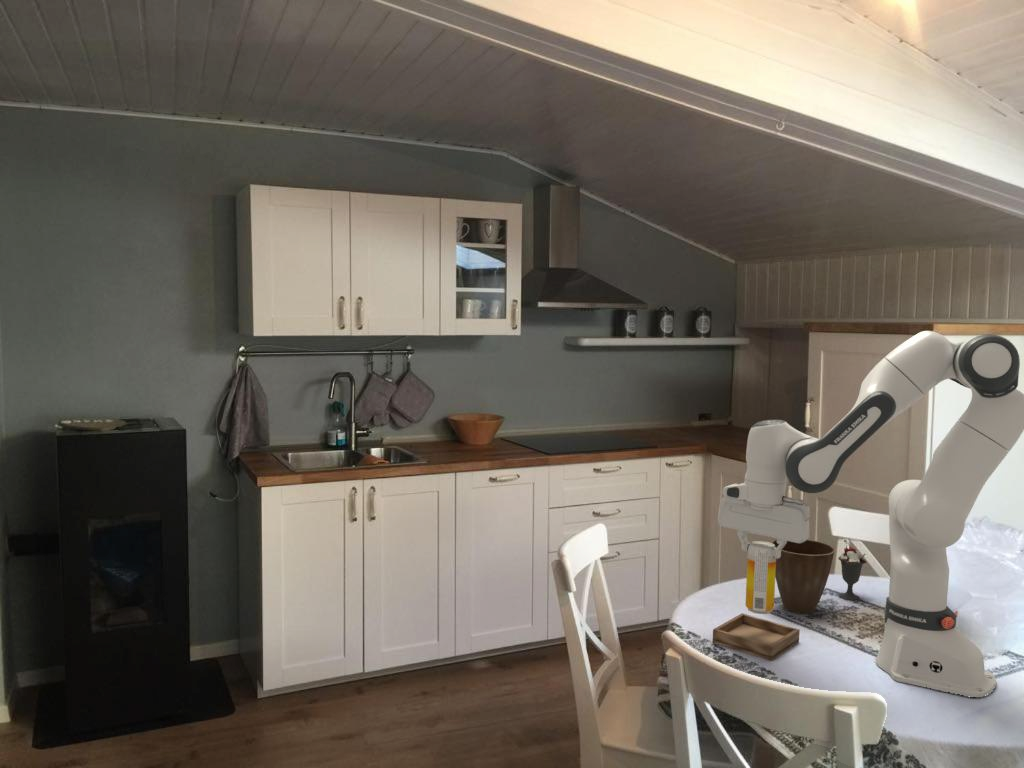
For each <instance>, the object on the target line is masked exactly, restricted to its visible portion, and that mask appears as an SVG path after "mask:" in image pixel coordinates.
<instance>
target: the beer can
mask: <svg viewBox="0 0 1024 768" xmlns="http://www.w3.org/2000/svg"><path fill="white" fill-rule="evenodd" d="M773 549H775V545H774V544H773V543H772V542H769V541H763V540H762V541H761V540H758V541H757V540H754V541H751V542H750V545H749V547H748V551H747V565H746V583H745V585H746V586H745V587H746V588H745V607H746V608H747V610H748V611H749V612H751V613H754V614H758V615H767V614H771V613H772V612H773V610H774V609H775V593H776V591H775V590H776V577H775V573H776V558H773V552H772V550H773Z"/></svg>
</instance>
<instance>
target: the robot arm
mask: <svg viewBox="0 0 1024 768" xmlns="http://www.w3.org/2000/svg"><path fill="white" fill-rule="evenodd" d="M1020 367H1021V361H1020V354H1019V351H1018V349H1017V348H1016V346H1015V345H1014V344H1013V343H1012V342H1011V341H1010V339H1007V338H1006V337H1005V336H1001V335H999V334H992V333H991V334H990V333H989V334H988V333H987V334H986V333H985V334H981V335H980V334H979V335H976V336H972V337H970V338H968V339H966V340H963V341H960V342H957V343H955V342H952V341H950V340H949V339H948V338H947V337H946V336H944V335H942V334H941V333H939V332H935V331H933V330H923V331H920V332H918V333H917V334H915V335H913V336H911V337H910V338H908V339H907V340H905V341H903V342H902V343H900V344H899V345H898V346H896V347H895V348H894V349H892V350H891V351H890V352H889V353H888V354H887V355H885V356H884V357H883V358H882V359H881V360H880V361H879V362H878V363H877V364H875V366H874V367H873V368H872V369H871V370H870V371H869V373H868V374H867V375H866V377H864V379H863V381H862V382H861V386H860V389H859V392H858V397H857V399H856V402H855V403H854V405H853V406H852V408H851V409H850V410H849V411H848V413H847V414H846V415H845V416H843V418H842V419H841V420H840V421H839V422H837V423H836V424H835V425H834V426H833V427H832V428H831V429H829V431H827V433H826V434H825V435H824V436H822V437H821V438H817V437H814V436H813V435H812V436H811V435H808V434H806V433H804V432H802V431H799V430H797V429H796V428H795V427H793V426H792V425H790V424H789V423H788V422H787V421H786V420H782V419H766V420H762V421H757V422H756V423H754V424H753V425H752V426H751V428H750V430H749V432H748V435H747V441H746V443H747V444H746V451H745V453H746V454H745V461H746V472H745V475H744V481H741V482H737V483H733V484H730V485H729V484H728V485H727V486H724V487H723V488H722V496H723V497H722V498H721V499H720V501H719V506H718V514H717V523H718V524H719V526H720V527H723V528H726V529H732V530H736V531H737V537H738V538H739V541H740V543H741V549H740V550H741V551H743V552H748V547H749V545H750V543H751V542H750V541H748V538H747V535H748V533H749V534H754V535H758V536H763V537H768V538H773V539H776V540H777V543H778V544H779V545H778V547H777V548H775V549H773V550H772V552H773V558H777V559H778V558H780V557H781V550H782V549H783V547H784V546H785V544H786V543H787V541H790V542H795V543H803V542H805V541H806V540H809V538H810V520H809V519H810V517H811V507H810V505H809V504H808V503H807V502H805V501H804V500H803V499H802V498H801V499H800V498H793V497H789V496H786V491H787V479H788V482H789V483H790V484H791V485H792V486H793V487H794V488H795V489H797V490H798V491H801V492H803V493H806V494H819V493H822V492H824V491H826V490H827V489H829V488H830V487H832V486H833V484H834V483H835V482H836V480H837V479H838V475H839V473H840V471H841V468H842V467H843V465H844V463H845V462H846V460H847V459H849V457H850V456H851V455H852V454H854V453H855V452H856V451H857V450H858V449H859V448H860V447H861V446H862V445H864V443H866V442H867V441H868V440H869V438H871V437H872V435H874V434H875V433H876V432H877V431H878V430H880V428H882V427H883V426H886V424H888V423H889V422H890V421H892V420H894V418H896V417H897V416H899V415H900V414H902V413H903V412H905V411H906V410H908V409H909V408H911V407H912V406H914V404H916V403H917V402H918V401H919V400H921V399H922V398H923V397H924V396H925V395H926V394H928V393H929V392H930V391H931V390H932V389H934V388H935V386H936V385H939V384H940V383H942V382H943V381H945V380H950V381H953V382H955V383H957V384H958V385H960V386H962V387H965V388H967V389H971V390H970V391H971V399H970V402H969V405H968V406H967V407H966V409H965V411H964V412H963V413H962V414H961V416H960V417H959V418H958V419H957V421H956V422H955V424H954V425H953V426H952V427H951V428H950V430H949V431H948V433H947V434H946V435H945V437H944V438H943V439H942V440H941V442H940V443H939V444H938V446H937V447H936V448H935V450H934V451H933V454H932V457H931V461H930V463H929V465H928V468H927V469H926V471H925V474H924V475H923V477H922V479H921V480H920V479H906V480H903V481H901V482H898V483H897V484H895V486H894V487H893V488H892V489H891V491H890V493H889V496H888V520H889V521H888V522H889V523H888V526H889V528H888V529H889V531H888V532H889V547H890V550H889V551H890V570H889V571H890V573H889V574H890V576H889V586H888V587H889V589H888V590H889V591H888V596H887V597H886V598H885V599H886V600H885V605H884V625H885V626H884V631H883V635H882V639H881V640H882V641H881V644H880V646H879V649H878V653H877V655H876V657H875V663H876V665H877V666H878V667H879V668H881V669H882V670H884V671H885V672H886V673H888V674H889V676H890V677H891V678H892V679H893V680H894V681H896V682H900V683H904V684H909V685H912V686H914V685H915V686H919V687H923V688H926V687H927V688H926V689H930V688H931V689H930V690H934V691H939V690H940V691H941V692H946V693H948V692H950V693H949V694H953V693H956V694H955V695H957V694H960V695H959V696H961V695H964V696H963V697H966V696H970V697H981V698H983V697H982V696H985V695H987V694H989V693H990V694H992V693H993V692H994V690H995V689H994V688H996V687H995V686H997V679H996V676H995V675H994V674H993V673H992V672H990V671H987V670H985V661H984V660H985V659H984V656H983V653H982V650H981V649H980V648H979V647H978V645H976V644H975V643H974V642H973V641H971V639H969V638H968V637H967V636H966V635H965V634H964V633H963V632H962V631H961V630H960V629H959V628H958V627H957V626H956V625H957V617H958V613H959V611H958V610H956V611H953V610H952V609H951V608H950V607H948V593H949V581H950V580H949V579H950V566H949V563H948V562H949V561H948V555H947V548H949V547H950V546H953V545H955V544H956V543H957V542H958V541H959V540H960V539H961V537H962V536H963V534H964V530H965V524H966V521H967V518H968V516H969V515H970V513H971V511H972V509H973V507H974V505H975V503H976V501H977V499H978V497H979V495H980V494H981V491H982V489H983V488H984V486H985V484H986V483H987V481H988V480H989V478H991V476H992V475H993V474H994V472H995V471H996V469H997V468H998V467H999V465H1000V464H1001V463H1002V462H1003V460H1004V459H1005V458H1006V456H1007V455H1008V454H1009V452H1010V451H1011V450H1012V449H1013V447H1014V446H1015V445H1016V443H1017V442H1018V440H1019V439H1020V437H1021V436H1022V434H1023V432H1024V393H1023V392H1021V391H1020V390H1018V389H1017V388H1018V386H1019V377H1020V376H1019V374H1020ZM993 689H994V690H993ZM991 692H992V693H991ZM990 694H989V695H990ZM987 696H988V695H987ZM970 697H969V698H970ZM985 697H986V696H985Z"/></svg>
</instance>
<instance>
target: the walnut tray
mask: <svg viewBox="0 0 1024 768" xmlns="http://www.w3.org/2000/svg"><path fill="white" fill-rule="evenodd" d="M800 633H801V631H800V629H799V628H796V627H793V626H789V625H786V624H785V625H784V624H781V623H778V622H774V621H771V620H768V619H764V618H760V617H756V616H753V615H750V614H747V613H740V614H738V615H736V616H734V617H733V618H731V619H729V620H727V621H726V622H724V623H722V624H720V625H719V626H716V627H715V628H713V629H712V643H713V642H714V643H713V644H716V643H717V645H720V646H723V647H727V648H728V649H729V648H730V649H733V650H736V651H739V652H743V653H745V654H749V655H752V656H755V657H758V658H762V659H765V660H768V661H771V662H772V661H774V660H776V659H777V658H778V657H780V656H781V655H783V654H785V652H787V651H788V650H790V649H791V648H793V647H794V646H796V645H797V644H799V643H800ZM798 642H799V643H798ZM795 644H796V645H795Z"/></svg>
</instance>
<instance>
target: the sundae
mask: <svg viewBox="0 0 1024 768" xmlns="http://www.w3.org/2000/svg"><path fill="white" fill-rule="evenodd" d="M843 542H844V543H845V544H846V547H845V548H844V549H843V552H842V553H841V555H840V556H839V557H837V559H838V560H839V561H840V565H841V576H842V577H841V578H842V579H843V581H844V582H845V583H846V584H847V590H846V591H845V592H842V593H840V594H839V597H840V598H842V599H844V600H847V601H858V600H860V598H861V597H860V596H859V595H857V594H854V591H853V586H854V585H855V584H856V583H858V582H859V581H860V577H861V572H862V567H863V565H864V564H867V561H866V559H864V557H865V556H866V553H864V554H862V556H861V555H860V554H861V553H860V552H859V551H858V550H857V549H856V548H854V547H853V546H851V545H850V544H849V542H848V541H847V540H845V539H843ZM848 546H849V547H848Z"/></svg>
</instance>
